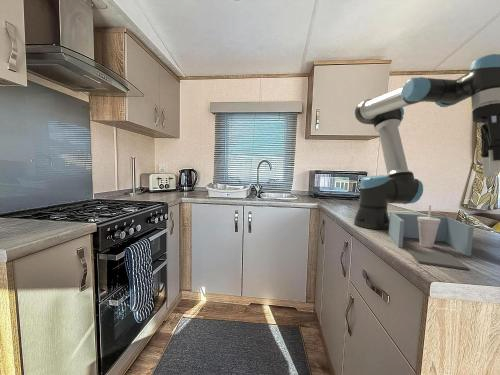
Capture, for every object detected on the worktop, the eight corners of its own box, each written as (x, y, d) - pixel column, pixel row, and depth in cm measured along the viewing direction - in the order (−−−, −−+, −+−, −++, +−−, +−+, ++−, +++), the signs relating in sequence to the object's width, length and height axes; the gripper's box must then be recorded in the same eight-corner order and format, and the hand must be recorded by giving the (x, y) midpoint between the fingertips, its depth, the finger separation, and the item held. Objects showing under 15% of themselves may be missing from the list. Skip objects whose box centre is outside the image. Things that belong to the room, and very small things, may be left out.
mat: (407, 250, 75) (407, 248, 75) (449, 255, 71) (450, 253, 71) (418, 263, 65) (418, 261, 65) (468, 270, 61) (468, 267, 61)
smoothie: (439, 246, 80) (443, 206, 79) (436, 250, 76) (440, 207, 74) (416, 241, 85) (420, 203, 83) (413, 245, 80) (416, 205, 79)
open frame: (388, 234, 93) (390, 212, 93) (447, 240, 87) (449, 217, 86) (398, 247, 78) (400, 220, 77) (470, 256, 71) (473, 227, 70)
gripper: (517, 87, 60) (522, 169, 59) (498, 115, 79) (502, 177, 78) (476, 95, 65) (481, 171, 63) (468, 120, 84) (471, 179, 83)
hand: (492, 175), depth 71 cm, fingers open, 13 cm apart
